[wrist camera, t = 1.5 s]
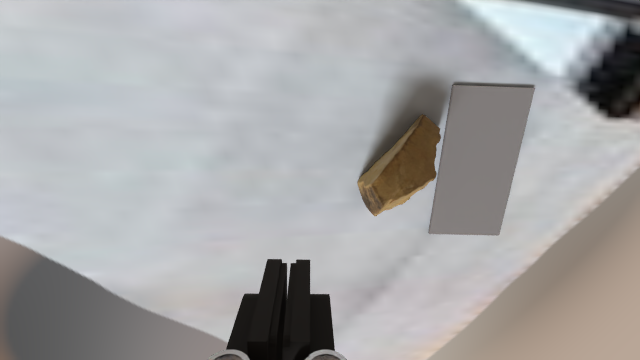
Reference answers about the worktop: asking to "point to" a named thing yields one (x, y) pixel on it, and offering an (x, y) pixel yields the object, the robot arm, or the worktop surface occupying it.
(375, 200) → the rock
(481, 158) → the rubber mat
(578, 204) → the worktop surface
